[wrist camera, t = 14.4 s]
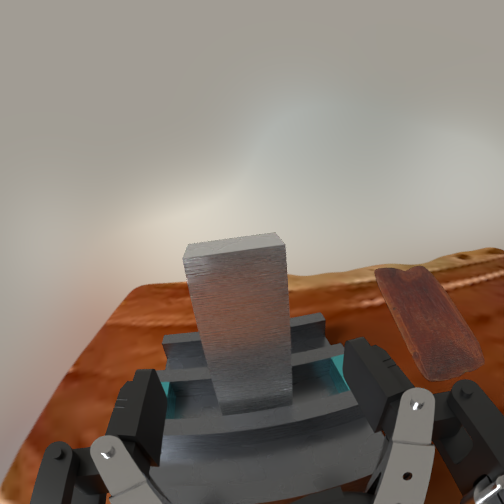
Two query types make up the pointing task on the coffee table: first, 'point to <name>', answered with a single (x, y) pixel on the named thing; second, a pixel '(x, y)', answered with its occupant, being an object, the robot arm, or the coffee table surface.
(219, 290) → the panel
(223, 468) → the rack
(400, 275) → the wooden tablet
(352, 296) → the coffee table surface
